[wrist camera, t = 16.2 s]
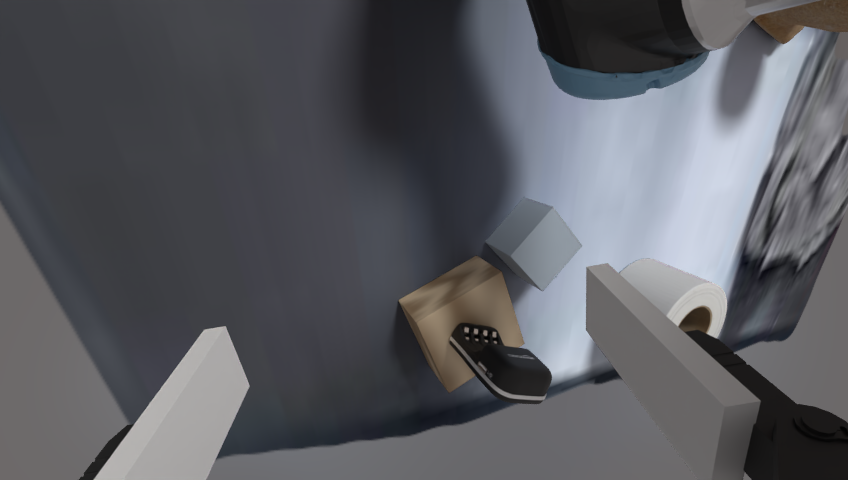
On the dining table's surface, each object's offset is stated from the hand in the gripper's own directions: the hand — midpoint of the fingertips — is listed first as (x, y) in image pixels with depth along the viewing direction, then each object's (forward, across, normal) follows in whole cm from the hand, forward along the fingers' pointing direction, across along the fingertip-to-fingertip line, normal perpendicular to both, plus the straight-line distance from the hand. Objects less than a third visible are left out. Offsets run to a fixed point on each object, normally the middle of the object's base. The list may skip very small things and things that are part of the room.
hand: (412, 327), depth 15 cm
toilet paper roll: (+46, +35, -34) cm, 67 cm away
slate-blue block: (+39, +14, -15) cm, 44 cm away
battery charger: (+29, +5, -22) cm, 37 cm away
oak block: (+35, +3, -22) cm, 41 cm away
